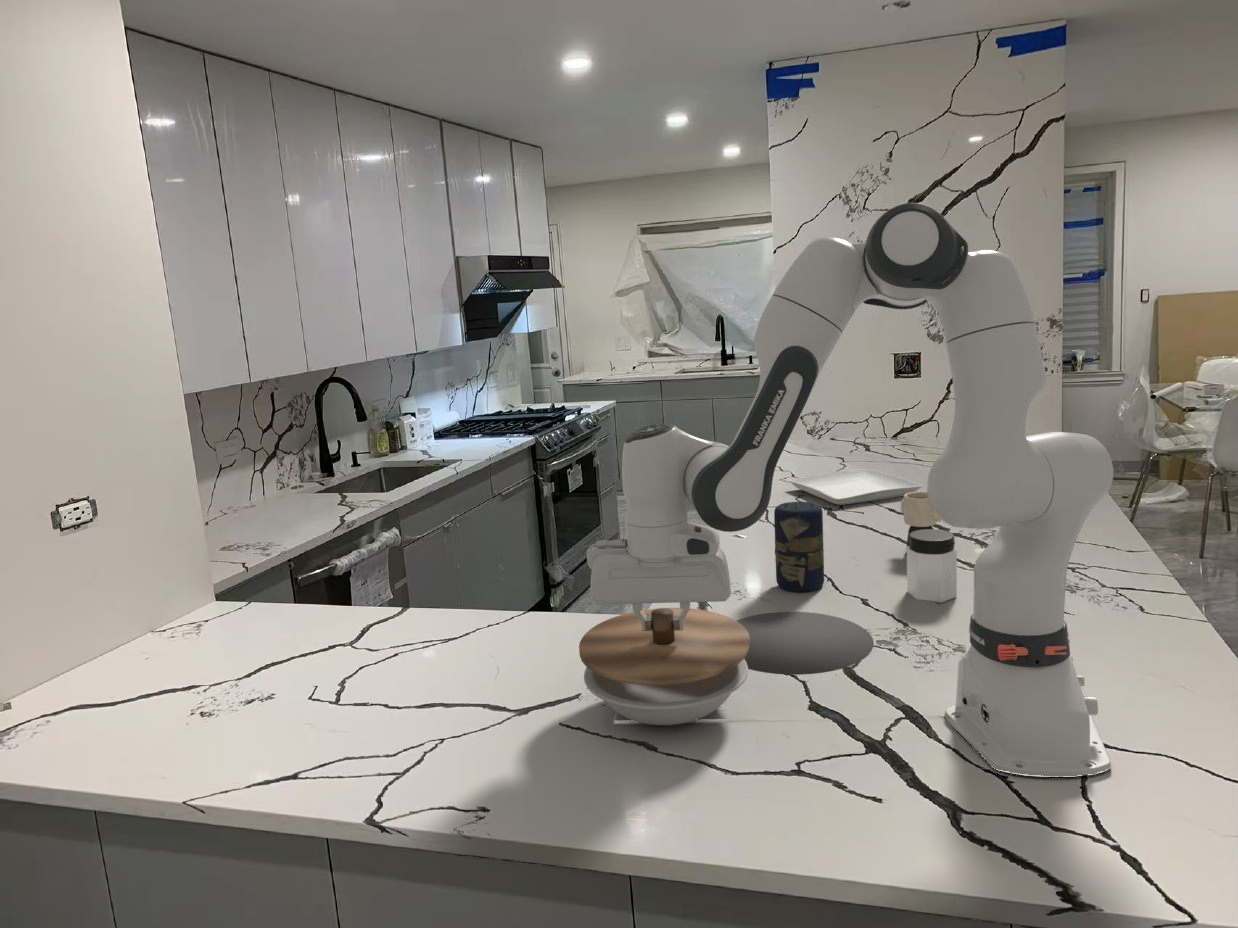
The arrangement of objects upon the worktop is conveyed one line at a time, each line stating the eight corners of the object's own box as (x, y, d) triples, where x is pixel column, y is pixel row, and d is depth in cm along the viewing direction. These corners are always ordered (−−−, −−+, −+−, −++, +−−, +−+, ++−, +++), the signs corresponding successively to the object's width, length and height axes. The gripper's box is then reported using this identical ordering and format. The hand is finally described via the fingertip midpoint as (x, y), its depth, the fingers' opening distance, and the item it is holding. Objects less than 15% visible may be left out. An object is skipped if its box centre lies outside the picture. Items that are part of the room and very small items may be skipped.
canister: (770, 592, 177) (766, 505, 173) (784, 577, 185) (781, 494, 182) (817, 597, 172) (814, 507, 169) (830, 581, 180) (827, 496, 177)
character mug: (952, 554, 192) (952, 496, 189) (929, 561, 188) (929, 502, 186) (913, 544, 201) (912, 488, 199) (890, 550, 198) (890, 493, 195)
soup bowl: (652, 664, 147) (649, 626, 146) (780, 697, 132) (778, 656, 131) (553, 723, 129) (549, 681, 128) (688, 770, 114) (685, 723, 113)
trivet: (887, 674, 137) (887, 672, 137) (712, 678, 140) (712, 675, 140) (860, 611, 163) (859, 609, 163) (713, 615, 167) (713, 613, 167)
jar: (934, 606, 163) (934, 544, 161) (898, 595, 170) (898, 535, 168) (965, 594, 168) (965, 533, 166) (928, 584, 175) (928, 526, 172)
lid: (752, 684, 116) (750, 647, 115) (565, 685, 120) (561, 650, 118) (748, 610, 140) (747, 579, 139) (593, 613, 144) (590, 583, 143)
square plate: (787, 491, 261) (787, 478, 260) (868, 479, 269) (868, 467, 268) (836, 511, 235) (836, 496, 235) (924, 497, 243) (924, 483, 242)
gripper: (582, 547, 125) (589, 639, 127) (728, 542, 122) (732, 636, 125) (588, 534, 131) (595, 622, 134) (728, 529, 128) (732, 619, 131)
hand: (663, 629), depth 129 cm, fingers closed on lid, 3 cm apart
